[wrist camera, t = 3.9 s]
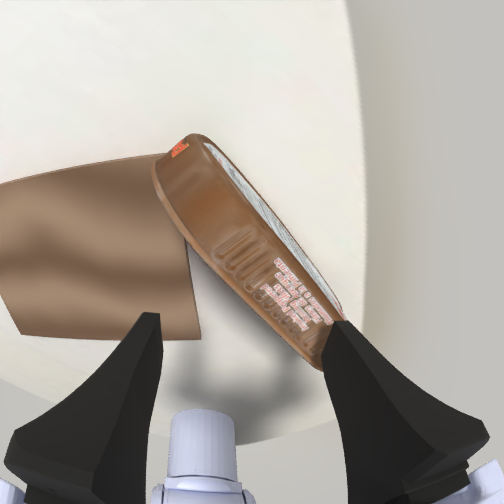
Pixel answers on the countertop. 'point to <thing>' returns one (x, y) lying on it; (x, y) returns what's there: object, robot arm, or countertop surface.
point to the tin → (246, 244)
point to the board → (93, 254)
